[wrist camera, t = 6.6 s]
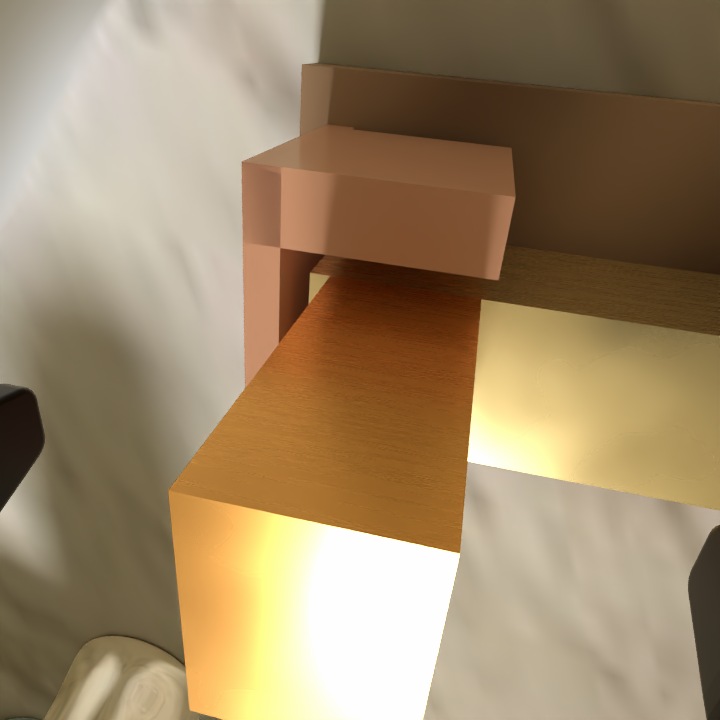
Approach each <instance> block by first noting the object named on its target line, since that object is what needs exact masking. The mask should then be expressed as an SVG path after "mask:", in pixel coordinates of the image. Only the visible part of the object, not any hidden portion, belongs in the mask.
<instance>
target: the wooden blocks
mask: <svg viewBox="0 0 720 720" xmlns="http://www.w3.org/2000/svg"><path fill="white" fill-rule="evenodd" d="M468 462H473V463H478V464H484V465H489V466H494V467H499V468H504V469H509V470H514V471H519V472H525V473H530V474H535V475H540V476H545V477H550V478H555V479H561V480H566V481H571V482H576V483H581V484H586V485H591V486H597V487H602V488H607V489H612V490H617V491H622V492H627V493H632V494H638V495H643V496H648V497H653V498H658V499H663V500H668V501H674V502H679V503H684V504H689V505H694V506H699V507H704V508H710V509H715V510H720V275H716V274H709V273H702V272H695V271H688V270H681V269H674V268H666V267H659V266H652V265H645V264H638V263H631V262H624V261H616V260H609V259H602V258H595V257H588V256H581V255H574V254H566V253H559V252H552V251H545V250H538V249H531V248H524V247H517V246H509V245H506V246H505V251H504V256H503V261H502V266H501V271H500V275H499V280H492V279H485V278H478V277H471V276H465V275H458V274H451V273H445V272H438V271H431V270H424V269H418V268H411V267H404V266H398V265H391V264H384V263H377V262H371V261H364V260H357V259H351V258H344V257H337V256H330V255H325V256H324V257H323V258H322V259H321V260H320V262H319V263H318V264H317V265H316V266H315V267H314V269H313V270H312V271H311V272H310V282H309V305H308V306H307V307H306V309H305V310H304V311H303V313H302V314H301V315H300V317H299V318H298V319H297V321H296V322H295V323H294V325H293V326H292V327H291V329H290V330H289V331H288V332H287V334H286V335H285V336H284V338H283V339H282V340H281V342H280V343H279V344H278V346H277V347H276V348H275V350H274V351H273V352H272V354H271V355H270V356H269V358H268V359H267V360H266V362H265V363H264V364H263V366H262V367H261V368H260V370H259V371H258V372H257V374H256V375H255V376H254V378H253V379H252V380H251V381H250V383H249V384H248V385H247V387H246V388H245V389H244V391H243V392H242V393H241V395H240V396H239V397H238V399H237V400H236V401H235V403H234V404H233V405H232V407H231V408H230V409H229V411H228V412H227V413H226V415H225V416H224V417H223V419H222V420H221V421H220V423H219V424H218V425H217V426H216V428H215V429H214V430H213V432H212V433H211V434H210V436H209V437H208V438H207V440H206V441H205V442H204V444H203V445H202V446H201V448H200V449H199V450H198V452H197V453H196V454H195V456H194V457H193V458H192V460H191V461H190V462H189V464H188V465H187V466H186V468H185V469H184V470H183V472H182V473H181V474H180V475H179V477H178V478H177V479H176V481H175V482H174V483H173V485H172V486H171V487H170V489H169V490H168V495H169V505H170V515H171V525H172V535H173V545H174V556H175V566H176V576H177V586H178V596H179V606H180V616H181V626H182V637H183V647H184V657H185V667H186V677H187V687H188V697H189V708H190V711H194V712H198V713H201V714H205V715H208V716H212V717H216V718H219V719H223V720H422V719H423V715H424V710H425V706H426V701H427V697H428V693H429V688H430V684H431V679H432V675H433V670H434V666H435V662H436V657H437V653H438V648H439V644H440V639H441V635H442V631H443V626H444V622H445V617H446V613H447V608H448V604H449V600H450V595H451V591H452V586H453V582H454V577H455V573H456V569H457V564H458V560H459V555H460V545H461V534H462V522H463V510H464V498H465V487H466V475H467V463H468Z"/></svg>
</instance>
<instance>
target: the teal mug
mask: <svg viewBox="0 0 720 720" xmlns="http://www.w3.org/2000/svg"><path fill="white" fill-rule="evenodd" d="M7 720H40V719H34V718H20V717H19V718H11V719H7Z"/></svg>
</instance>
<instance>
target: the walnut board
mask: <svg viewBox="0 0 720 720" xmlns="http://www.w3.org/2000/svg"><path fill="white" fill-rule="evenodd" d="M327 124H328V125H337V126H346V127H354V130H362V131H371V132H380V133H388V134H397V135H405V136H414V137H423V138H431V139H440V140H448V141H457V142H466V143H474V144H483V145H491V146H500V147H509V148H512V160H513V172H514V183H515V195H516V198H515V203H514V207H513V212H512V217H511V222H510V227H509V232H508V237H507V241H506V245H509V246H517V247H524V248H531V249H538V250H545V251H552V252H559V253H566V254H574V255H581V256H588V257H595V258H602V259H609V260H616V261H624V262H631V263H638V264H645V265H652V266H659V267H666V268H674V269H681V270H688V271H695V272H702V273H709V274H716V275H720V104H719V103H709V102H699V101H689V100H679V99H670V98H660V97H650V96H640V95H630V94H620V93H610V92H600V91H590V90H580V89H570V88H560V87H550V86H540V85H530V84H520V83H510V82H500V81H490V80H480V79H470V78H460V77H450V76H441V75H431V74H421V73H411V72H401V71H391V70H381V69H371V68H361V67H351V66H341V65H331V64H321V63H314V64H302V82H301V115H300V136H302V135H304V134H306V133H309V132H311V131H313V130H315V129H318V128H320V127H322V126H325V125H327Z"/></svg>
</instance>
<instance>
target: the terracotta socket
mask: <svg viewBox="0 0 720 720" xmlns="http://www.w3.org/2000/svg"><path fill="white" fill-rule="evenodd" d="M515 198H516V195H515V183H514V172H513V160H512V148H509V147H500V146H491V145H483V144H474V143H466V142H457V141H448V140H440V139H431V138H423V137H414V136H405V135H397V134H388V133H380V132H371V131H362V130H354V127H346V126H337V125H328V124H327V125H325V126H322V127H320V128H318V129H315V130H313V131H311V132H309V133H306V134H304V135H302V136H300V137H297V138H295V139H293V140H290V141H288V142H286V143H284V144H281V145H279V146H277V147H274V148H272V149H270V150H268V151H265V152H263V153H261V154H258V155H256V156H254V157H252V158H249V159H247V160H245V161H243V162H242V213H243V278H244V344H245V388H246V387H247V385H248V384H249V383H250V381H251V380H252V379H253V378H254V376H255V375H256V374H257V372H258V371H259V370H260V368H261V367H262V366H263V364H264V363H265V362H266V360H267V359H268V358H269V356H270V355H271V354H272V352H273V351H274V350H275V348H276V347H277V346H278V344H279V343H280V342H281V340H282V339H283V338H284V336H285V335H286V334H287V332H288V331H289V330H290V329H291V327H292V326H293V325H294V323H295V322H296V321H297V319H298V318H299V317H300V315H301V314H302V313H303V311H304V310H305V309H306V307H307V306H308V305H309V282H310V272H311V271H312V270H313V269H314V267H315V266H316V265H317V264H318V263H319V262H320V260H321V259H322V258H323V257H324V256H325V255H330V256H337V257H344V258H351V259H357V260H364V261H371V262H377V263H384V264H391V265H398V266H404V267H411V268H418V269H424V270H431V271H438V272H445V273H451V274H458V275H465V276H471V277H478V278H485V279H492V280H499V275H500V271H501V266H502V261H503V256H504V251H505V246H506V241H507V237H508V232H509V227H510V222H511V217H512V212H513V207H514V203H515Z"/></svg>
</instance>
